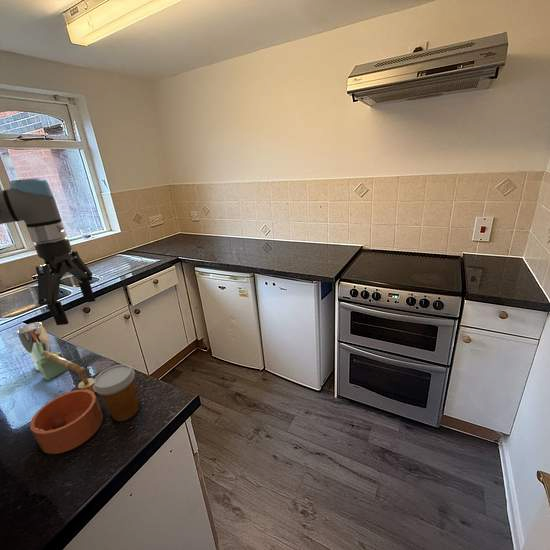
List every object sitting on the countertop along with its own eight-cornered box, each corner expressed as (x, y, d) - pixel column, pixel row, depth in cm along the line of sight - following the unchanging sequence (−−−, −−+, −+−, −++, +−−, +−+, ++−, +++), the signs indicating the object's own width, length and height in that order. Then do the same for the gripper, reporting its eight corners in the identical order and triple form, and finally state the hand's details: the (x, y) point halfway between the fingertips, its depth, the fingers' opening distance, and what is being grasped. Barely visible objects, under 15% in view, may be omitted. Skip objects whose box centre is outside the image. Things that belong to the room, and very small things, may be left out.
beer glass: (62, 360, 104) (46, 323, 99) (41, 373, 99) (23, 334, 93) (51, 356, 107) (35, 320, 102) (29, 368, 101) (11, 331, 96)
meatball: (51, 434, 73) (47, 426, 72) (58, 425, 76) (54, 416, 75) (63, 432, 74) (59, 424, 73) (69, 423, 76) (65, 415, 75)
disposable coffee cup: (102, 411, 80) (88, 375, 76) (139, 393, 85) (127, 358, 81) (111, 433, 73) (95, 395, 69) (150, 411, 78) (138, 374, 74)
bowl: (27, 459, 68) (16, 438, 66) (59, 412, 81) (50, 394, 79) (89, 448, 70) (80, 427, 67) (111, 404, 82) (104, 385, 80)
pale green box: (43, 378, 96) (35, 361, 94) (63, 366, 101) (56, 351, 98) (48, 380, 95) (40, 364, 92) (67, 369, 99) (61, 353, 97)
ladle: (44, 375, 97) (35, 354, 94) (59, 367, 101) (50, 346, 98) (86, 398, 85) (76, 374, 82) (101, 388, 89) (92, 365, 86)
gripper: (30, 252, 66) (63, 334, 74) (91, 228, 90) (111, 292, 97) (-4, 256, 66) (33, 337, 74) (66, 231, 90) (88, 294, 97)
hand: (77, 312), depth 86 cm, fingers open, 13 cm apart
